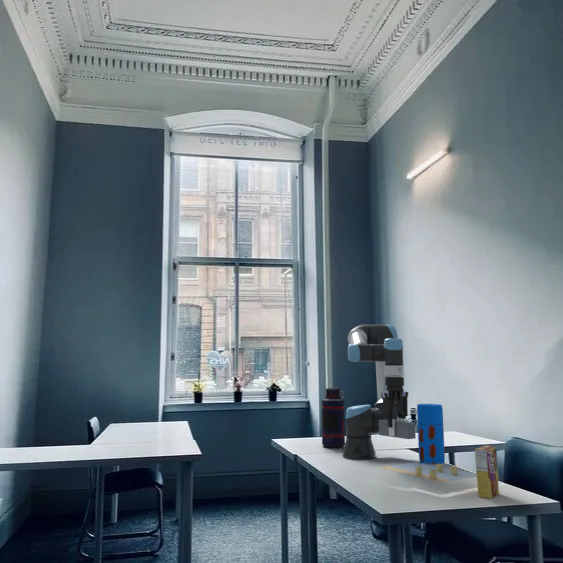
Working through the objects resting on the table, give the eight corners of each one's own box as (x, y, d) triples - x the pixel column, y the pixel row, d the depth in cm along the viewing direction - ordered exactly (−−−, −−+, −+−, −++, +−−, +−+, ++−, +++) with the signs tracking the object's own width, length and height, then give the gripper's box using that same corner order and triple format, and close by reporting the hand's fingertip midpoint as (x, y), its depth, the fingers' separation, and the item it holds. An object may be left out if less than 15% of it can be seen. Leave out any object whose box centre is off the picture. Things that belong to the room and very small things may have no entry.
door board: (378, 470, 212) (378, 467, 212) (415, 464, 224) (415, 461, 224) (442, 485, 186) (442, 482, 186) (480, 477, 198) (480, 475, 198)
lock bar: (379, 435, 214) (378, 420, 215) (386, 434, 217) (385, 419, 218) (408, 439, 201) (407, 423, 202) (415, 438, 203) (414, 422, 204)
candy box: (486, 491, 176) (483, 445, 179) (499, 493, 174) (496, 446, 176) (476, 496, 170) (474, 448, 172) (490, 499, 167) (487, 449, 169)
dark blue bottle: (338, 449, 263) (337, 388, 268) (318, 447, 269) (317, 388, 274) (350, 445, 275) (349, 387, 279) (330, 443, 281) (329, 387, 286)
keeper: (415, 475, 197) (415, 467, 198) (440, 471, 205) (440, 463, 206) (432, 479, 191) (432, 470, 191) (457, 474, 199) (457, 466, 199)
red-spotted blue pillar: (446, 466, 219) (443, 405, 223) (420, 465, 222) (417, 405, 225) (443, 461, 230) (440, 404, 234) (418, 461, 232) (416, 403, 236)
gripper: (385, 376, 205) (387, 438, 202) (415, 376, 214) (418, 434, 211) (372, 376, 211) (374, 435, 208) (402, 375, 221) (404, 432, 217)
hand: (396, 435), depth 209 cm, fingers closed on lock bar, 4 cm apart
